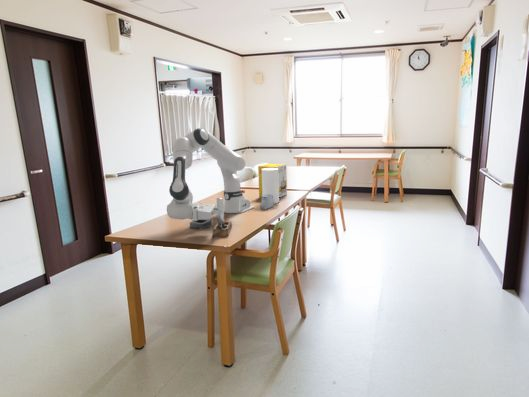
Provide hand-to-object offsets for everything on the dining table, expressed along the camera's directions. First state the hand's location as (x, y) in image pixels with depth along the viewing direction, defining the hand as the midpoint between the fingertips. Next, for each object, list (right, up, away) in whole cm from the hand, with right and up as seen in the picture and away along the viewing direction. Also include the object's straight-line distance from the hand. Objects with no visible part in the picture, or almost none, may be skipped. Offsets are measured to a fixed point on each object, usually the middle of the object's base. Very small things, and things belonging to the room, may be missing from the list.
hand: (222, 210), depth 205 cm
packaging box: (+30, +8, +99) cm, 103 cm away
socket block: (-15, -10, +20) cm, 27 cm away
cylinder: (+28, +4, +78) cm, 83 cm away
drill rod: (-1, -9, +2) cm, 9 cm away
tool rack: (0, -12, +6) cm, 14 cm away
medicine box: (+25, 0, +61) cm, 66 cm away
